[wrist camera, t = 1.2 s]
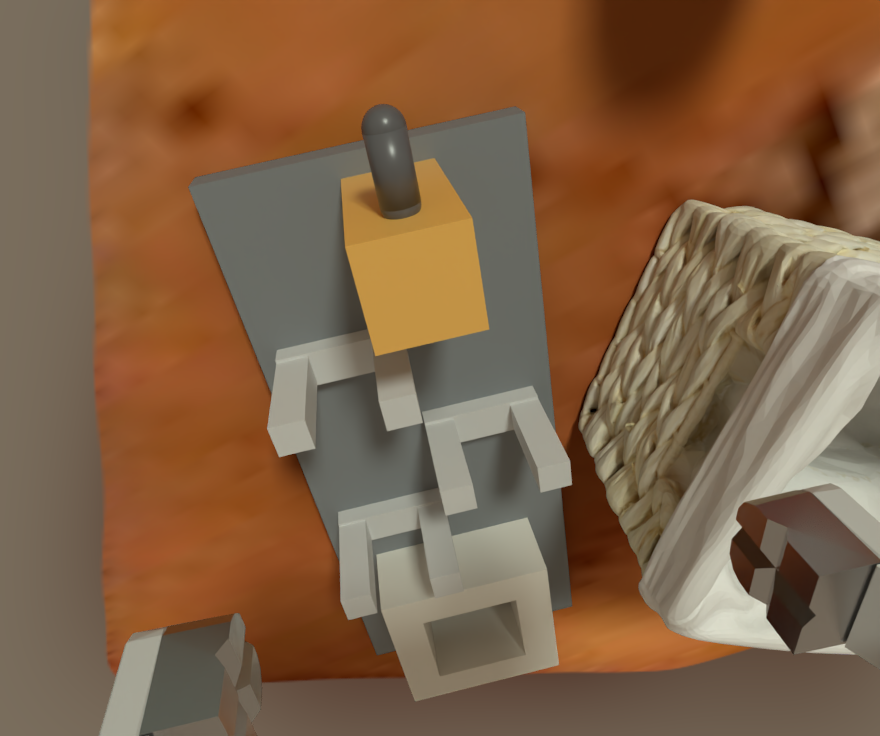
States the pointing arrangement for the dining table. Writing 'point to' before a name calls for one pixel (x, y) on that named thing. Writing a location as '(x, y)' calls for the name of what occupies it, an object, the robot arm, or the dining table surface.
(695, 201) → the storage basket
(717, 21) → the dining table surface
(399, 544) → the board
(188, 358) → the dining table surface
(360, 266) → the plug
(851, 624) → the robot arm
